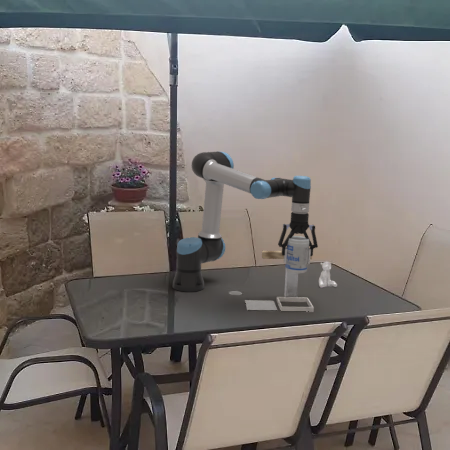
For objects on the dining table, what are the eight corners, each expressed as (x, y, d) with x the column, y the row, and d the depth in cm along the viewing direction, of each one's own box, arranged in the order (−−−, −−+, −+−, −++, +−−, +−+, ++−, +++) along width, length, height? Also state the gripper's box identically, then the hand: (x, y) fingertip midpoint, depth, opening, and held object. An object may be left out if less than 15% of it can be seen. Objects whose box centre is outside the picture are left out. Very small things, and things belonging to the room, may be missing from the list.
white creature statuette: (320, 288, 294) (321, 264, 292) (312, 283, 302) (314, 260, 300) (337, 287, 297) (339, 263, 295) (329, 282, 305) (331, 259, 303)
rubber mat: (247, 310, 258) (247, 309, 258) (244, 301, 270) (244, 300, 270) (277, 310, 258) (277, 310, 258) (273, 301, 271) (273, 300, 271)
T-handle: (309, 267, 276) (310, 251, 275) (311, 269, 273) (312, 252, 272) (261, 267, 274) (262, 250, 273) (262, 269, 271) (262, 252, 270)
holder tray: (280, 311, 258) (281, 307, 257) (276, 301, 272) (276, 296, 271) (313, 312, 259) (313, 307, 258) (307, 301, 273) (307, 297, 272)
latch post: (285, 299, 274) (287, 270, 271) (284, 296, 279) (285, 267, 276) (296, 300, 274) (298, 270, 272) (294, 296, 279) (296, 267, 276)
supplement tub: (282, 272, 260) (284, 238, 257) (287, 267, 268) (289, 234, 265) (304, 275, 256) (306, 241, 254) (309, 269, 265) (311, 237, 262)
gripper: (275, 213, 253) (272, 264, 257) (327, 214, 254) (323, 265, 259) (273, 209, 260) (270, 259, 265) (323, 211, 262) (320, 261, 266)
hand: (296, 262), depth 262 cm, fingers closed on supplement tub, 10 cm apart
